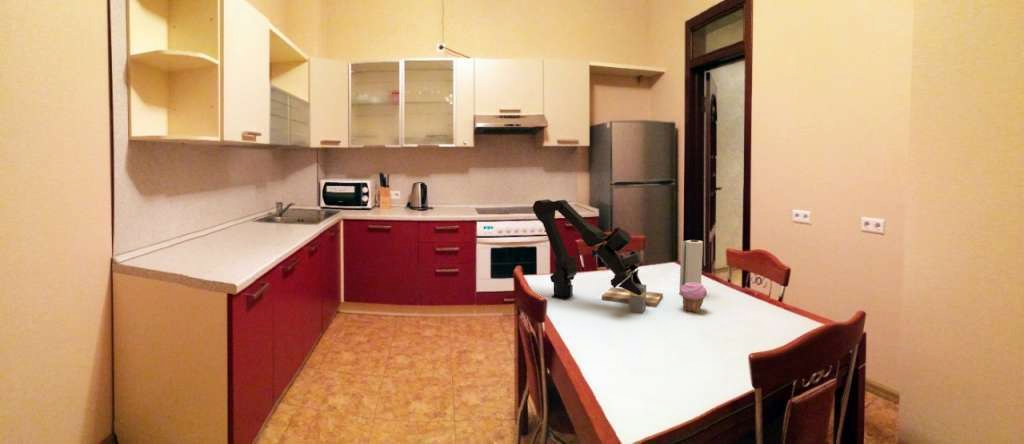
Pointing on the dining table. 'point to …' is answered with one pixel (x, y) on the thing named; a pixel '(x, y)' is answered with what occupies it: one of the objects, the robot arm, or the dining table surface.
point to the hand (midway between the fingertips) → (642, 292)
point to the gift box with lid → (638, 300)
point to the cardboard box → (624, 296)
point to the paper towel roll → (691, 262)
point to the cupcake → (693, 295)
